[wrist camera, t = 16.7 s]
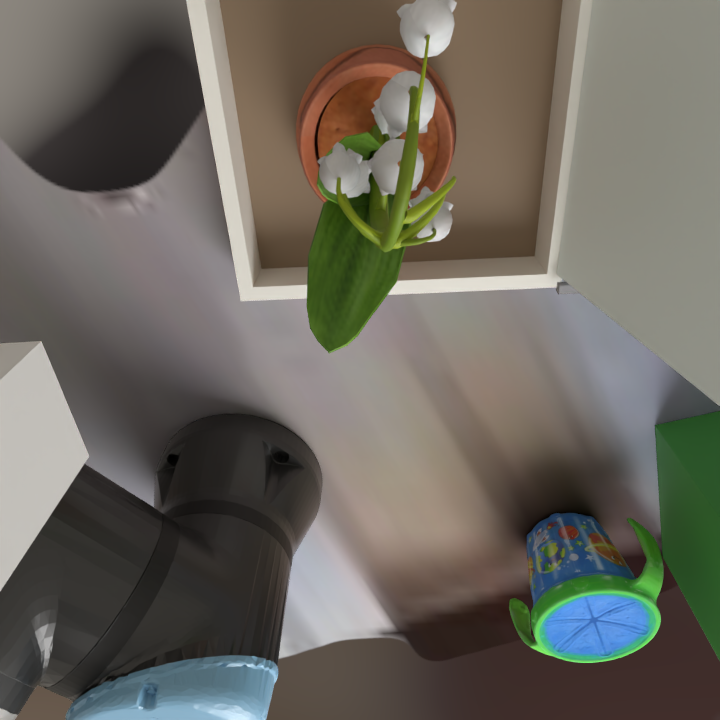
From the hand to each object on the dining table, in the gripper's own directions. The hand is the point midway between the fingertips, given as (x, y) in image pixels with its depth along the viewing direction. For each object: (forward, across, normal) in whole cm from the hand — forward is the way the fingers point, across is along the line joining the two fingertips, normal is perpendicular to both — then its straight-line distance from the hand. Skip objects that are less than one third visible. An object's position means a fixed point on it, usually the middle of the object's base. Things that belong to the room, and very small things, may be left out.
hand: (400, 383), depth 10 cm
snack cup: (+31, +16, -39) cm, 53 cm away
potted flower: (+30, 0, +1) cm, 30 cm away
